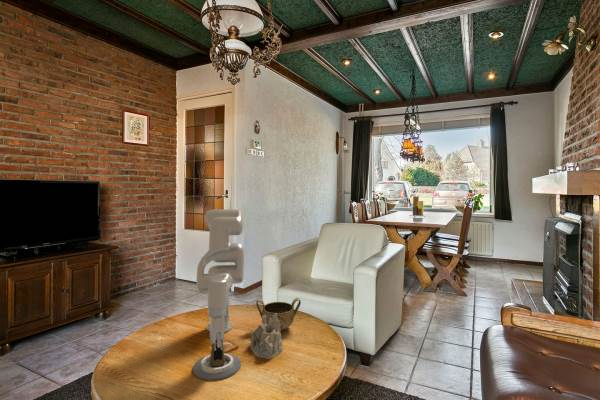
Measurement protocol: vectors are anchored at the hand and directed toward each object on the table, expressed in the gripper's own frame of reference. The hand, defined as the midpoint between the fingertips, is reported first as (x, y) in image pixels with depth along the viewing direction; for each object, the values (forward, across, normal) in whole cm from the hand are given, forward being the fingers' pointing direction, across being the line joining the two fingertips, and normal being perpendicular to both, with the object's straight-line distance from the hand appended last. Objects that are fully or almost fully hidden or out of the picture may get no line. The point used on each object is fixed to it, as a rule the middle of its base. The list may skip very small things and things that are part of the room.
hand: (217, 356), depth 128 cm
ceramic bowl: (+5, -28, +32) cm, 43 cm away
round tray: (+4, 0, 0) cm, 4 cm away
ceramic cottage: (+5, -9, +21) cm, 23 cm away
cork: (+2, 0, 0) cm, 2 cm away
